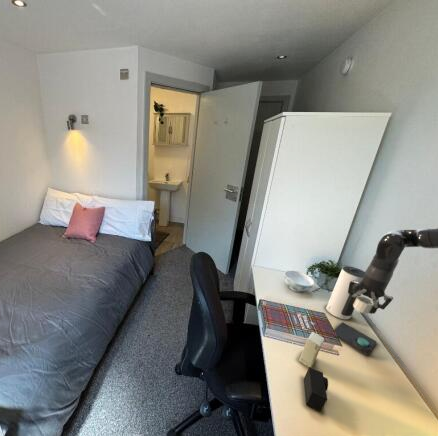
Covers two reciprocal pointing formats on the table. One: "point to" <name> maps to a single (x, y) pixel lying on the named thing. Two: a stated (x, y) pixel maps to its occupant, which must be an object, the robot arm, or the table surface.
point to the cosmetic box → (311, 349)
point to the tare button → (363, 342)
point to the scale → (354, 338)
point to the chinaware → (298, 281)
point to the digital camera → (315, 389)
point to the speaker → (344, 293)
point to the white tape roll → (363, 304)
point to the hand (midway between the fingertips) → (361, 308)
